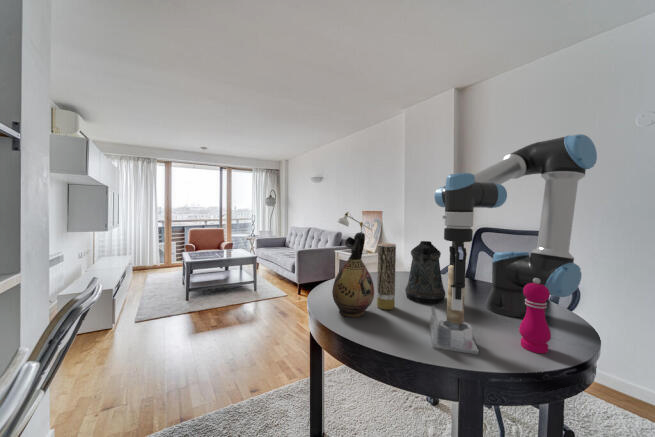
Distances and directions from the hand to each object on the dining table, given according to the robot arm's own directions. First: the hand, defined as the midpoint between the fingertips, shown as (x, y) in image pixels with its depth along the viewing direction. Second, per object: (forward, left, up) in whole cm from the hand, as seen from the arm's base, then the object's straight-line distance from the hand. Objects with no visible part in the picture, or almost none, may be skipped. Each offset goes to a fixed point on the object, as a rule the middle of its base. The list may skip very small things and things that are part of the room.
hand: (455, 306), depth 82 cm
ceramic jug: (+33, -14, -11) cm, 37 cm away
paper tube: (+22, -23, -11) cm, 34 cm away
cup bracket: (0, 0, -10) cm, 10 cm away
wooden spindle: (0, 0, -4) cm, 4 cm away
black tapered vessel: (+6, -39, -11) cm, 41 cm away
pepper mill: (-21, -3, -11) cm, 24 cm away
